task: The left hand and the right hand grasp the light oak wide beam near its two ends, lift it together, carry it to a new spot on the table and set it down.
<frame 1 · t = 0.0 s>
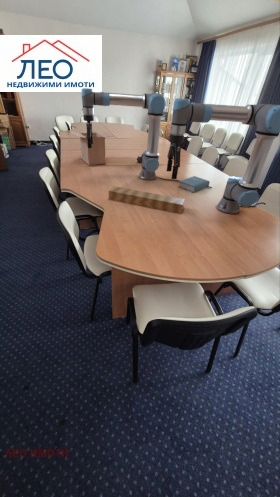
left hand: (90, 146, 173), 28 cm above the table, tool pointing down, fingers open, 13 cm apart
right hand: (171, 174, 128), 28 cm above the table, tool pointing down, fingers open, 13 cm apart
book: (193, 187, 193), on the table
box: (93, 161, 237), on the table
wide beam: (145, 203, 160), on the table
laser sight: (146, 163, 242), on the table
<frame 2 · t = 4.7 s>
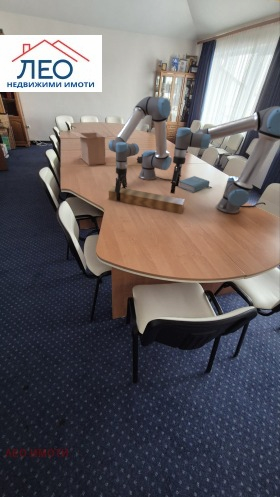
left hand: (121, 198, 164), 0 cm above the table, tool pointing down, fingers closed on wide beam, 10 cm apart
right hand: (174, 189, 147), 14 cm above the table, tool pointing down, fingers open, 13 cm apart
wide beam: (145, 203, 160), on the table, touching left hand
everything else where it was.
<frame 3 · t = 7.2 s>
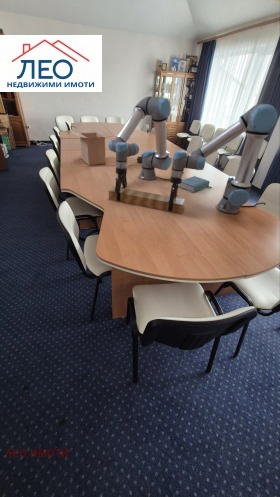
left hand: (121, 198, 164), 0 cm above the table, tool pointing down, fingers closed on wide beam, 10 cm apart
right hand: (171, 208, 155), 0 cm above the table, tool pointing down, fingers closed on wide beam, 10 cm apart
wide beam: (145, 203, 160), on the table, touching left hand, right hand
everything else where it was.
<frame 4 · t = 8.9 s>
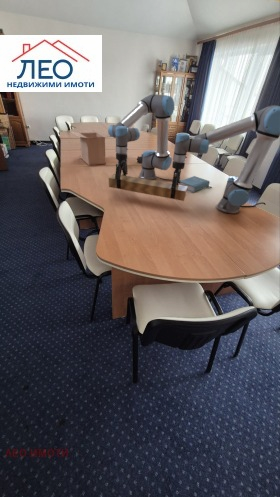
left hand: (121, 185, 158), 10 cm above the table, tool pointing down, fingers closed on wide beam, 10 cm apart
right hand: (173, 195, 150), 10 cm above the table, tool pointing down, fingers closed on wide beam, 10 cm apart
wide beam: (146, 191, 154), point 9 cm above the table, touching left hand, right hand
everything else where it was.
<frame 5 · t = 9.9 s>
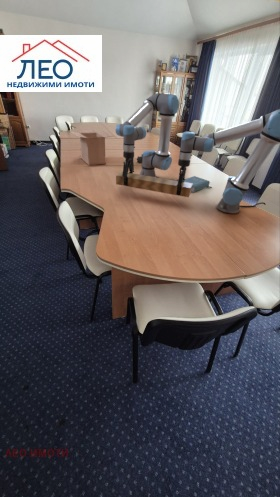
left hand: (128, 183, 164), 10 cm above the table, tool pointing down, fingers closed on wide beam, 10 cm apart
right hand: (179, 192, 155), 10 cm above the table, tool pointing down, fingers closed on wide beam, 10 cm apart
wide beam: (152, 188, 159), point 9 cm above the table, touching left hand, right hand
everything else where it was.
when the left hand's fingers open (2 cm above the table, at t = 13.0 s): wide beam drops 1 cm, on the table.
when the right hand's fingers open (2 cm above the table, at t = 13.0 s): wide beam drops 1 cm, on the table.
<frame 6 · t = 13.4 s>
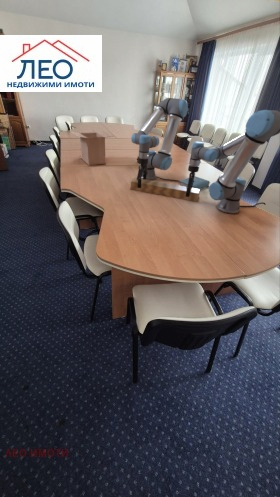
left hand: (141, 185, 180), 3 cm above the table, tool pointing down, fingers open, 13 cm apart
right hand: (188, 193, 171), 3 cm above the table, tool pointing down, fingers open, 13 cm apart
wide beam: (164, 193, 178), on the table
everything else where it was.
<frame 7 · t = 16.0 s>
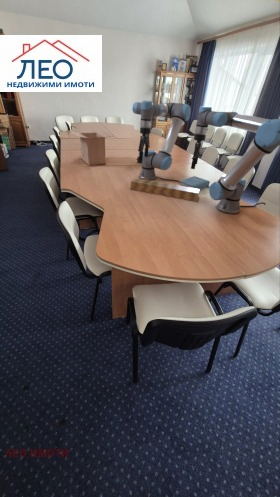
left hand: (143, 158, 168), 24 cm above the table, tool pointing down, fingers open, 13 cm apart
right hand: (193, 166, 159), 24 cm above the table, tool pointing down, fingers open, 13 cm apart
nothing on the table moved.
at the end: wide beam inside the target area (0.0 cm from its centre), on the table; wide beam tilted 0°; wide beam never tilted more than 1° during the clip; both hands held the wide beam at the same time; the left hand is holding nothing; the right hand is holding nothing; wide beam at rest at the end (0.0 cm/s) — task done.
